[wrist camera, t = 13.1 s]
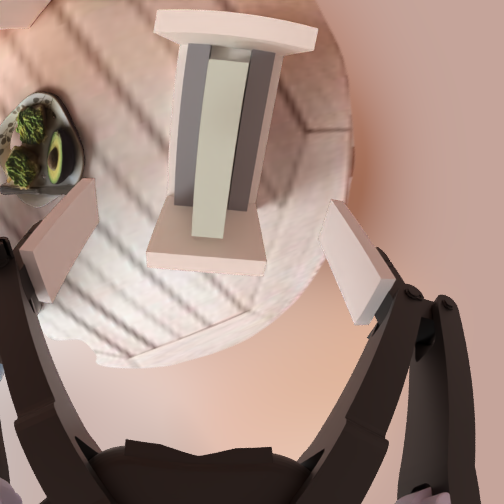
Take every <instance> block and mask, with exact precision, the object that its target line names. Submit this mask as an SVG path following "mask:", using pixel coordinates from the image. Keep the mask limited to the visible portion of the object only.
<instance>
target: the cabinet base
mask: <svg viewBox="0 0 504 504" xmlns="http://www.w3.org/2000/svg"><path fill="white" fill-rule="evenodd" d="M153 33H155V34H158V35H160V36H162V37H164V38H167V39H169V40H171V41H173V42H175V43H177V44H179V45H180V46H179V53H178V60H177V68H176V76H175V84H174V93H173V103H172V114H171V126H170V141H169V158H168V183H167V198H166V200H165V203H164V205H163V208H162V210H161V213H160V215H159V218H158V220H157V223H156V226H155V228H154V231H153V234H152V237H151V239H150V242H149V245H148V248H147V251H146V257H147V267H148V268H159V269H170V270H182V271H194V272H207V273H220V274H234V275H248V276H263V275H264V271H265V267H266V263H267V260H266V255H265V249H264V244H263V239H262V234H261V229H260V224H259V218H258V213H257V208H256V199H257V194H258V188H259V183H260V178H261V172H262V167H263V162H264V156H265V151H266V146H267V140H268V135H269V130H270V125H271V119H272V114H273V109H274V104H275V99H276V93H277V88H278V83H279V78H280V73H281V67H282V62H283V57H284V56H287V55H292V54H298V53H303V52H309V51H314V48H315V43H316V38H317V33H318V28H314V27H311V26H307V25H303V24H299V23H294V22H290V21H285V20H280V19H275V18H270V17H264V16H258V15H251V14H244V13H235V12H226V11H213V10H192V9H164V10H157V14H156V19H155V25H154V31H153ZM209 59H215V60H226V61H235V62H243V63H249V65H248V71H247V77H246V83H245V89H244V95H243V101H242V107H241V113H240V119H239V126H238V132H237V139H236V145H235V152H234V159H233V166H232V173H231V180H230V187H229V195H228V202H227V210H226V218H225V225H224V233H223V239H221V238H209V237H197V236H191V234H192V215H193V199H194V185H195V173H196V161H197V150H198V140H199V131H200V122H201V113H202V105H203V97H204V89H205V82H206V75H207V68H208V62H209Z"/></svg>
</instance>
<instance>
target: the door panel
mask: <svg viewBox="0 0 504 504" xmlns="http://www.w3.org/2000/svg"><path fill="white" fill-rule="evenodd" d="M248 65H249V63H243V62H235V61H226V60H215V59H209V62H208V68H207V75H206V82H205V89H204V97H203V105H202V113H201V122H200V131H199V140H198V150H197V161H196V173H195V185H194V199H193V215H192V234H191V236H197V237H209V238H221V239H223V233H224V225H225V218H226V210H227V202H228V195H229V187H230V180H231V173H232V166H233V159H234V152H235V145H236V139H237V132H238V126H239V119H240V113H241V107H242V101H243V95H244V89H245V83H246V77H247V71H248Z"/></svg>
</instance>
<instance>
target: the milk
mask: <svg viewBox="0 0 504 504" xmlns="http://www.w3.org/2000/svg"><path fill="white" fill-rule="evenodd" d="M50 1H51V0H0V29H29V28H30V26H31V25H32V24H33V22H34V21H35V20H36V18H37V17H38V16H39V15H40V13H41V12H42V11H43V10H44V8H45V7H46V6H47V5H48V4H49V2H50Z"/></svg>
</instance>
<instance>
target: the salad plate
mask: <svg viewBox="0 0 504 504" xmlns="http://www.w3.org/2000/svg"><path fill="white" fill-rule="evenodd" d="M53 116H54V117H55V118H54V117H53ZM17 124H18V126H17V128H16V132H17V133H20V140H21V141H22V145H21V146H14V147H13V149H12V150H11V149H10V141H11V137H12V133H13V131H14V128H15V126H16V125H17ZM0 166H1V167H2V169H3V171H4V173H5V175H6V177H7V183H5V184H3V185H1V186H0V192H1V194H3V195H10V194H16V195H17V196H18V197H19V198H20V199H21V200H22V201H23V202H24V203H25V204H27V205H30V206H32V207H35V208H39V207H42V206H45V205H46V204H48V203H50V202H51V201H52V200H54V199H56V198H57V197H58V196H60V195H62V194H65V195H67V194H68V192H69V191H70V190H71V189H72V188H73V187H74V186H75V185H76V184H77V183H78V182H79V181H80V180H81V179H82V174H83V170H84V151H83V146H82V143H81V140H80V137H79V134H78V132H77V130H76V128H75V126H74V123H73V121H72V119H71V117H70V114H69V112H68V110H67V109H66V107H65V106H64V104H63V103H62V101H61V100H60V99H59V97H58V96H57V95H55V94H52V93H48V92H36V93H33V94H31V95H29V96H27V97H26V98H25V99H24V100H23V101H22V102H21V103H20V104H19V105H18V106H17V107H16V108H15V109H14V110H13V111H12V112H11V113H10V115H8V116H7V117H6V119H5V120H4V121H3V122H2V124H1V125H0ZM42 175H45V176H46V179H43V177H42Z"/></svg>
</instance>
